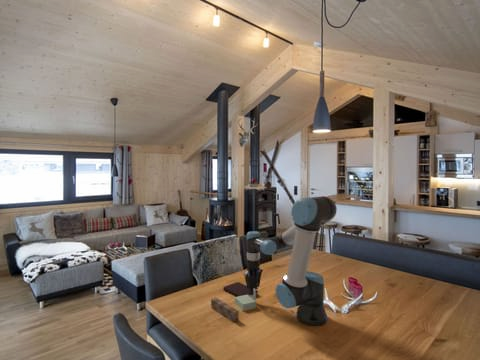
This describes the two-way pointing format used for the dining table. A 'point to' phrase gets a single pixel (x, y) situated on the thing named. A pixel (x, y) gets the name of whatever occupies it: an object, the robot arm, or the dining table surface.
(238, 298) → the block
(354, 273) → the dining table surface
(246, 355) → the dining table surface
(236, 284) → the book
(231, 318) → the board
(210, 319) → the dining table surface
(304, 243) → the robot arm
